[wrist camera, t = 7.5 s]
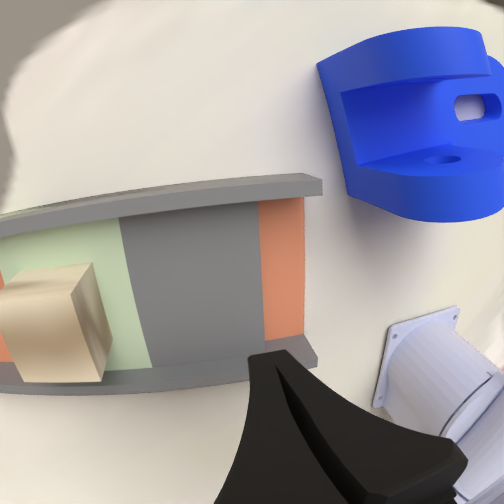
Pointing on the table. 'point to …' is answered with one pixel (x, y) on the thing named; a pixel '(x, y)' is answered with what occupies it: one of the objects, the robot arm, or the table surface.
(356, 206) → the table surface
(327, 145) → the table surface
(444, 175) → the bracket
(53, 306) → the block
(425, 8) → the table surface
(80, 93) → the table surface
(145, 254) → the box
